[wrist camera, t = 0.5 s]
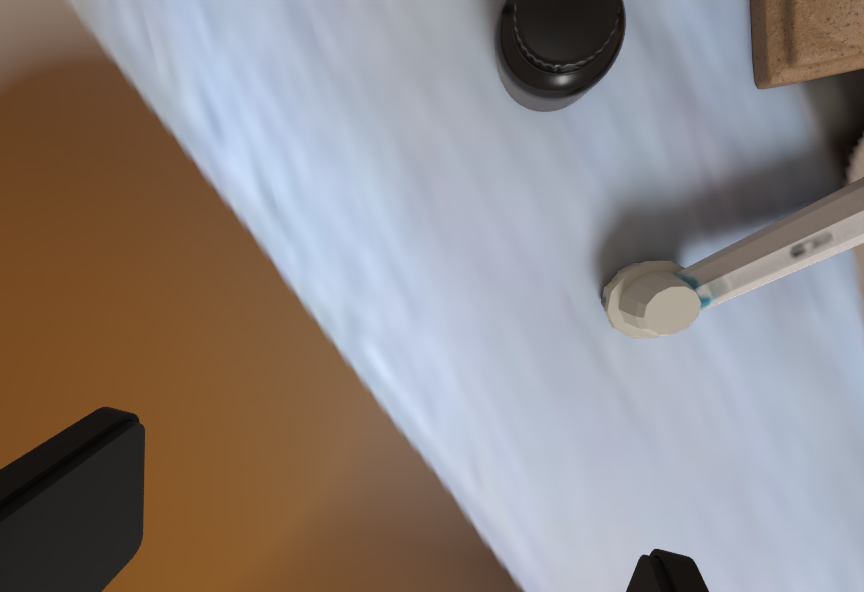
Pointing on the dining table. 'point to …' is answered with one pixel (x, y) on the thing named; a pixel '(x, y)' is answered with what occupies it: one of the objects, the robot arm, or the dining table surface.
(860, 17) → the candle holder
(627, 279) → the white elongated piece
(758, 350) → the dining table surface
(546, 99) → the supplement bottle
